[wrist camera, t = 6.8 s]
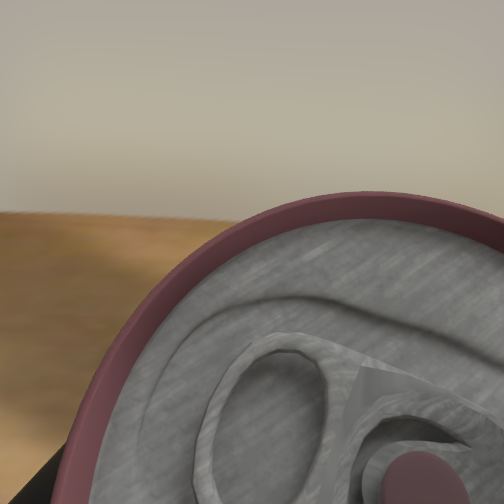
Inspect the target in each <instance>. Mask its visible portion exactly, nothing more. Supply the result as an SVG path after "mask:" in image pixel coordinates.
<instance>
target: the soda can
mask: <svg viewBox="0 0 504 504" xmlns="http://www.w3.org/2000/svg"><path fill="white" fill-rule="evenodd" d="M50 504H504V219H502V218H500V217H497V216H494V215H492V214H489V213H487V212H483V211H480V210H477V209H474V208H471V207H468V206H465V205H461V204H457V203H453V202H449V201H445V200H441V199H436V198H431V197H426V196H420V195H413V194H405V193H395V192H374V191H371V192H370V191H369V192H368V191H361V192H344V193H336V194H328V195H321V196H316V197H311V198H306V199H302V200H298V201H295V202H291V203H287V204H284V205H281V206H278V207H275V208H272V209H270V210H267V211H264V212H262V213H260V214H257V215H255V216H253V217H251V218H248V219H246V220H244V221H242V222H240V223H238V224H236V225H235V226H233V227H231V228H229V229H227V230H225V231H224V232H222V233H220V234H219V235H217V236H216V237H214V238H213V239H211V240H209V241H208V242H206V243H205V244H204V245H202V246H201V247H200V248H198V249H197V250H196V251H194V252H193V253H192V254H190V255H189V256H188V257H187V258H185V259H184V260H183V261H182V262H181V263H180V264H178V265H177V266H176V267H175V268H174V269H173V270H171V271H170V272H169V273H168V274H167V275H166V276H165V277H164V278H163V279H162V280H161V281H160V282H159V283H158V284H157V285H156V286H155V287H154V289H153V290H152V291H151V292H150V293H149V294H148V296H147V297H146V298H145V299H144V300H143V301H142V302H141V304H140V305H139V306H138V307H137V308H136V310H135V311H134V313H133V314H132V315H131V317H130V318H129V319H128V321H127V322H126V323H125V325H124V326H123V327H122V329H121V330H120V332H119V333H118V335H117V337H116V338H115V340H114V341H113V343H112V344H111V346H110V347H109V349H108V351H107V352H106V354H105V356H104V358H103V360H102V361H101V363H100V365H99V367H98V369H97V371H96V372H95V374H94V376H93V378H92V380H91V382H90V385H89V387H88V389H87V391H86V393H85V395H84V398H83V400H82V402H81V404H80V407H79V409H78V412H77V414H76V417H75V420H74V422H73V425H72V428H71V430H70V433H69V436H68V439H67V442H66V445H65V449H64V452H63V455H62V458H61V462H60V465H59V468H58V472H57V477H56V481H55V485H54V489H53V494H52V498H51V502H50Z"/></svg>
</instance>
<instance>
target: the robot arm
mask: <svg viewBox="0 0 504 504" xmlns="http://www.w3.org/2000/svg"><path fill="white" fill-rule="evenodd" d="M65 445H66V443H65V444H64V445H63V446H62V447H61V448H60V449H59V450H58V451H57V452H56V453H55V454H54V456H53V457H52V458H51V459H50V460H49V461H48V462H47V463H46V464H45V465H44V466H43V467H42V468H41V469H40V470H39V471H38V473H37V474H36V475H35V476H34V477H33V478H32V479H31V480H30V481H29V482H28V483H27V484H26V485H25V486H24V487H23V488H22V490H21V491H20V492H19V493H18V494H17V495H16V496H15V497H14V498H13V499H12V500H11V501H10V502H9V503H8V504H50V502H51V498H52V494H53V489H54V485H55V481H56V477H57V472H58V468H59V465H60V462H61V458H62V455H63V452H64V449H65Z"/></svg>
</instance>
